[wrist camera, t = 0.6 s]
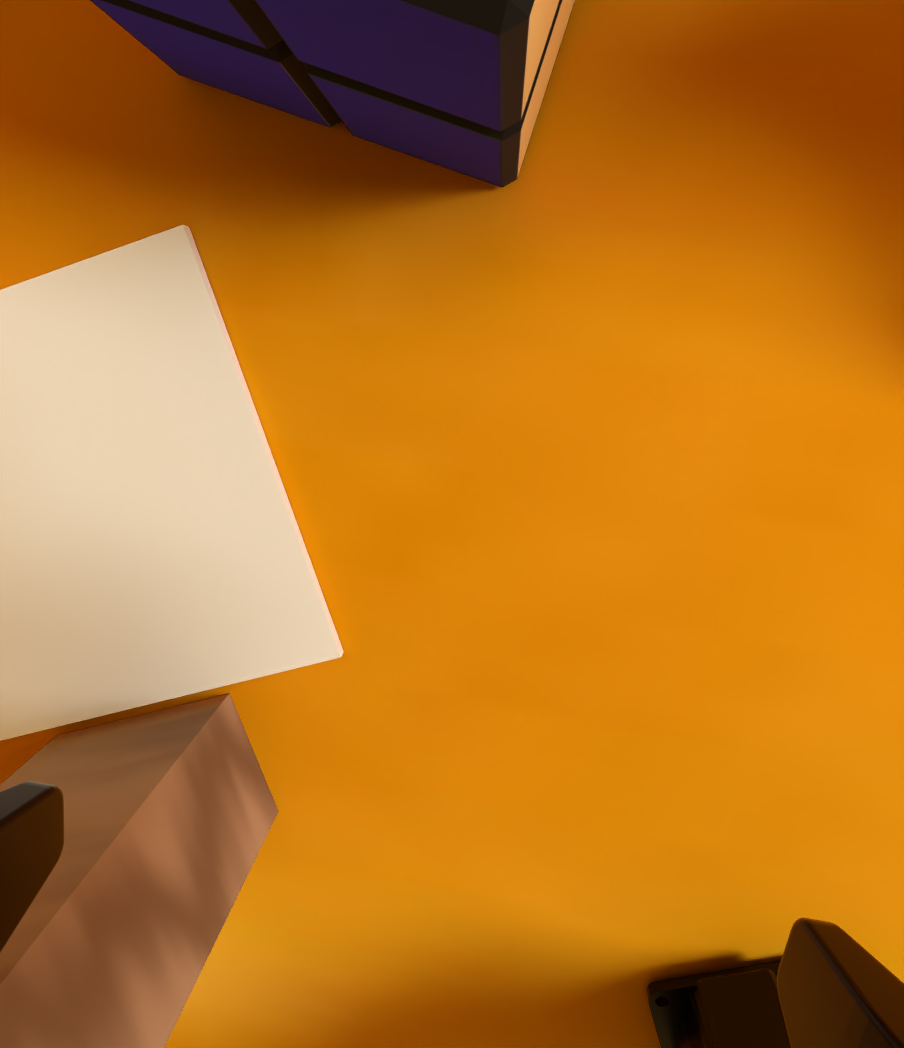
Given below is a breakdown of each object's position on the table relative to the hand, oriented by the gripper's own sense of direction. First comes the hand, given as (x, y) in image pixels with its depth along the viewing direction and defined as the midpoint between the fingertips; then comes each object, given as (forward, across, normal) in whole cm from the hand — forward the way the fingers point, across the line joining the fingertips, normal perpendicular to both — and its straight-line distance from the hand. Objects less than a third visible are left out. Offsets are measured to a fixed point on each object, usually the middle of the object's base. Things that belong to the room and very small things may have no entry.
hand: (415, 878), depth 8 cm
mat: (+14, +14, +1) cm, 20 cm away
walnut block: (+14, +10, +10) cm, 20 cm away
